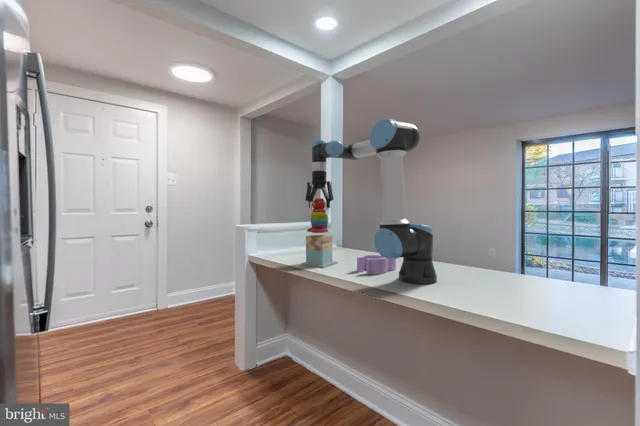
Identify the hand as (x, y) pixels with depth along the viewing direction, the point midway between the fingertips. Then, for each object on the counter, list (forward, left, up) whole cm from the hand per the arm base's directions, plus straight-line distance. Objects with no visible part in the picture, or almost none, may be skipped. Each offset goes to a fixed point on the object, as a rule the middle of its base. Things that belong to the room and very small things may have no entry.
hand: (319, 214), depth 166 cm
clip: (-32, -1, -27) cm, 42 cm away
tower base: (0, 0, -26) cm, 26 cm away
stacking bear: (0, 0, -10) cm, 10 cm away
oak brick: (0, 0, -18) cm, 18 cm away
